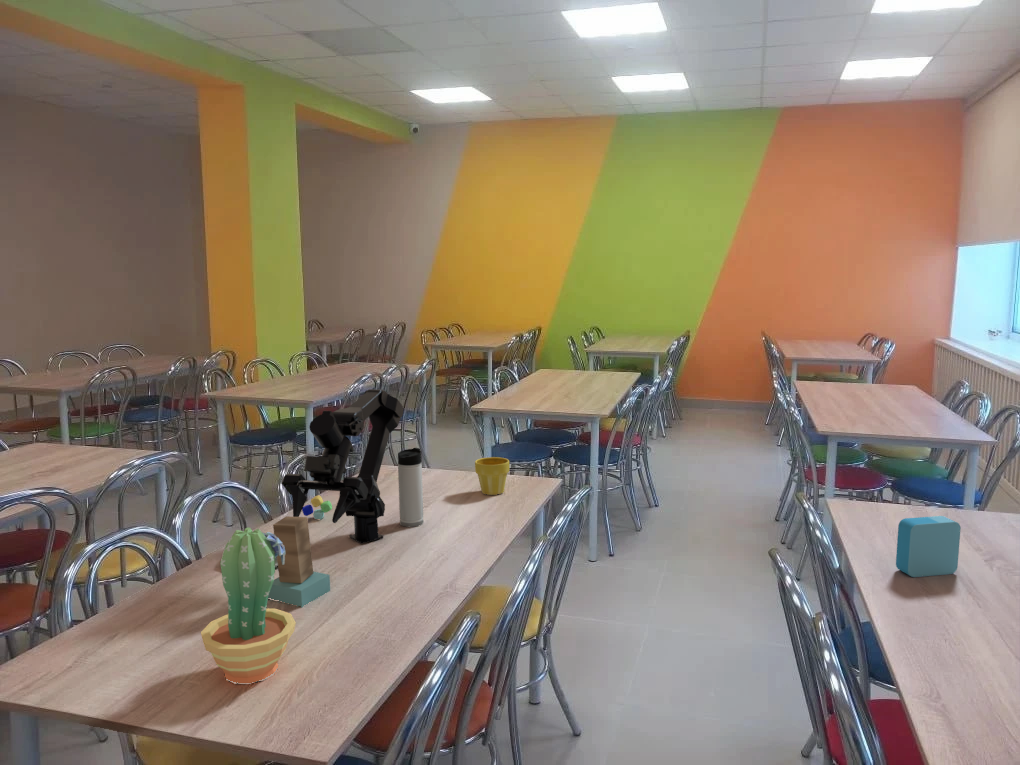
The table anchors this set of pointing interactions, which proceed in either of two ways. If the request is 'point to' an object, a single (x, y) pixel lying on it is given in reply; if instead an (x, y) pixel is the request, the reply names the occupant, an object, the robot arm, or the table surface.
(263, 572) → the potted cactus
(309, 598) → the teal base block
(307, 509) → the dice
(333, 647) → the table surface
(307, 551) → the walnut block
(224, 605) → the table surface
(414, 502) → the travel mug
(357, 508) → the robot arm
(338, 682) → the table surface
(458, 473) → the table surface
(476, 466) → the plant pot
